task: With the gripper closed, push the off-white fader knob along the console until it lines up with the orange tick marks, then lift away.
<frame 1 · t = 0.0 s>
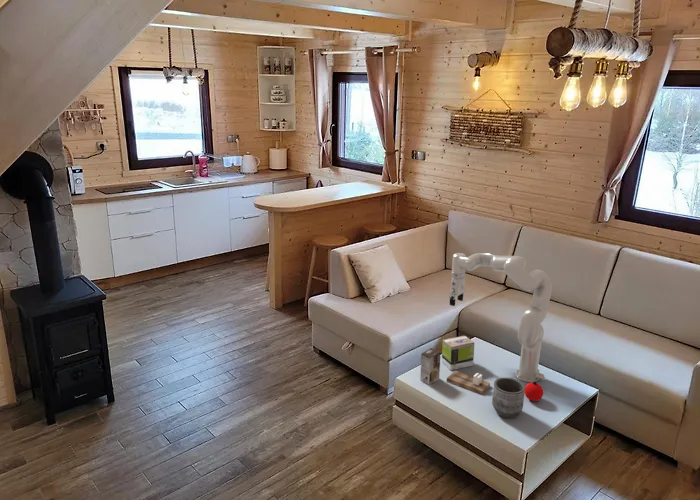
hand: (456, 302, 299), 31 cm above the table, tool pointing down, fingers open, 9 cm apart
fader: (477, 379, 270), point 5 cm above the table, slide at 0.0 cm
planter: (506, 412, 251), on the table
tea box: (457, 364, 294), on the table
fader console: (468, 383, 275), on the table
ornament: (532, 399, 261), on the table
coffee box: (429, 379, 279), on the table
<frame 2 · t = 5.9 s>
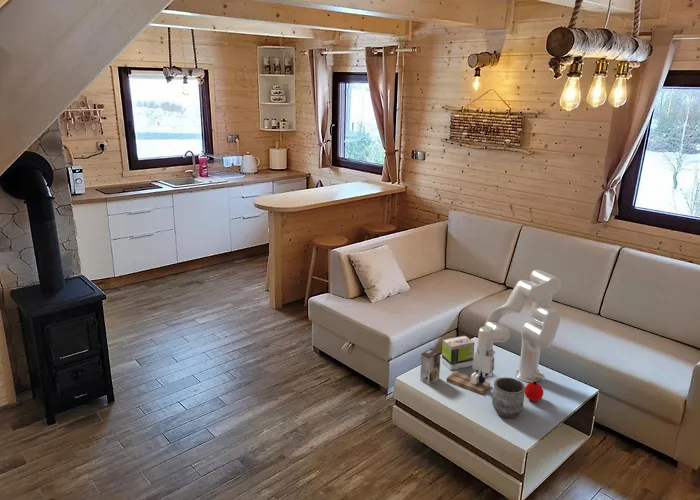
hand: (481, 382, 269), 4 cm above the table, tool pointing down, fingers closed
fader: (475, 378, 271), point 5 cm above the table, slide at 1.4 cm, touching gripper
everything else where it was.
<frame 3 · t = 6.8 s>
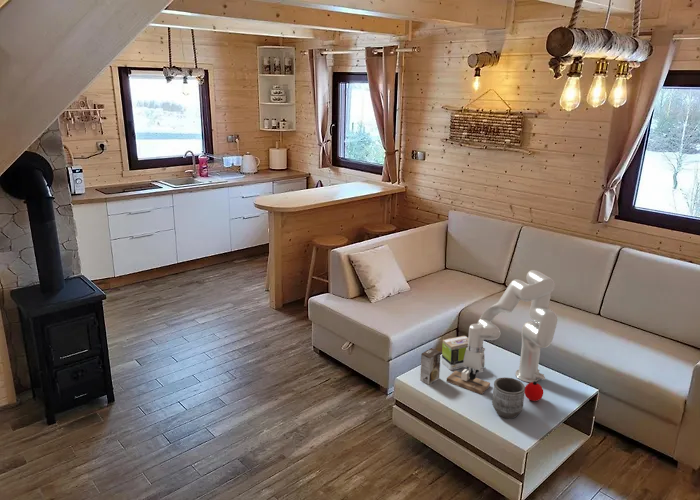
hand: (472, 379, 272), 4 cm above the table, tool pointing down, fingers closed
fader: (465, 374, 274), point 5 cm above the table, slide at 6.6 cm, touching gripper
everything else where it was.
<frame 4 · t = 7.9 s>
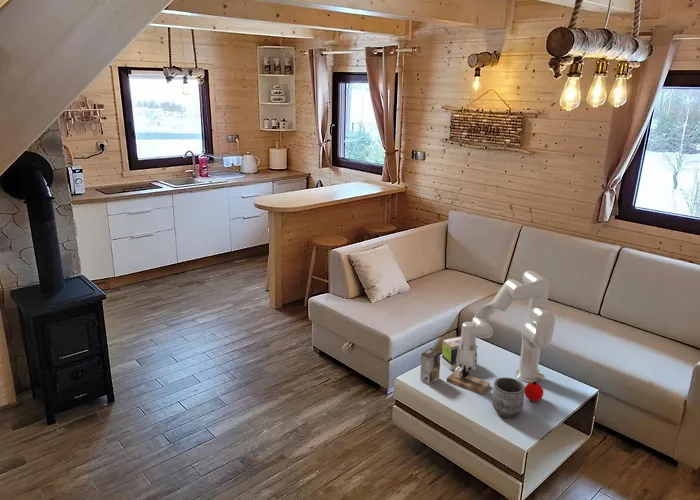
hand: (465, 376, 275), 4 cm above the table, tool pointing down, fingers closed
fader: (458, 372, 277), point 5 cm above the table, slide at 10.7 cm, touching gripper
everything else where it was.
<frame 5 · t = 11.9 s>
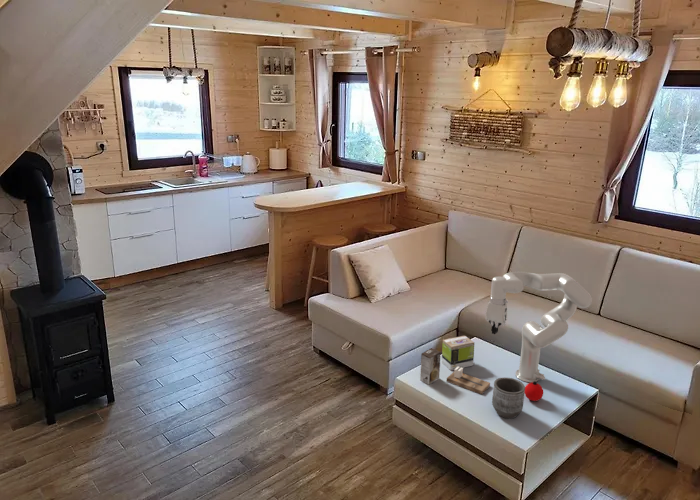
hand: (494, 332, 272), 27 cm above the table, tool pointing down, fingers closed
fader: (458, 372, 277), point 5 cm above the table, slide at 10.8 cm
everything else where it was.
at the end: fader slide at 10.8 cm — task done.
